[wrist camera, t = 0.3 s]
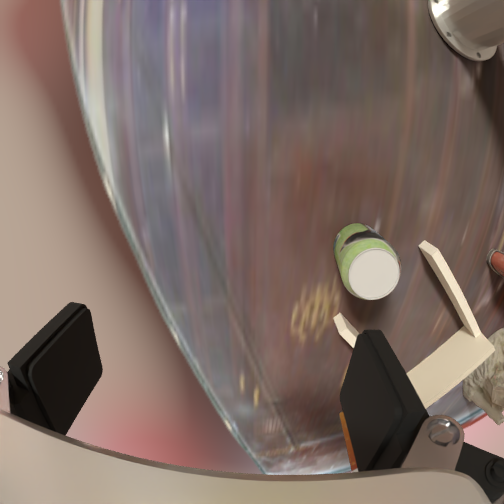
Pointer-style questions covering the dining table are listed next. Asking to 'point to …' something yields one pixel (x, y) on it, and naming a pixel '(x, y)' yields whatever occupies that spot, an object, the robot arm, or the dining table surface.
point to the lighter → (496, 261)
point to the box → (452, 351)
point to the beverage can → (366, 262)
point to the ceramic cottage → (489, 381)
